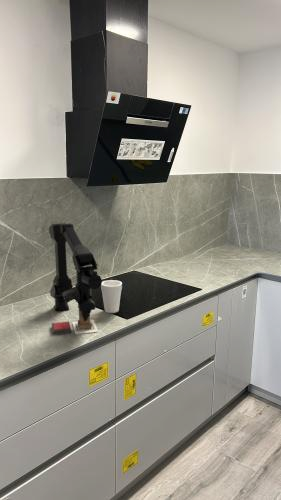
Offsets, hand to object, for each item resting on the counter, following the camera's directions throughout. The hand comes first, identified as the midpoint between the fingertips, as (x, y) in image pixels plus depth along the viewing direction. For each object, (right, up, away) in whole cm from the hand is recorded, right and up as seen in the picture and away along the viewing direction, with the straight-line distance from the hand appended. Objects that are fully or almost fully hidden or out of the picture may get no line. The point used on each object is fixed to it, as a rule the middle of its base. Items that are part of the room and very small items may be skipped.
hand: (84, 318), depth 161 cm
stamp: (0, -3, +1) cm, 3 cm away
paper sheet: (0, -4, +1) cm, 4 cm away
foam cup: (+10, 0, +19) cm, 22 cm away
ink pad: (-9, -4, -2) cm, 10 cm away
